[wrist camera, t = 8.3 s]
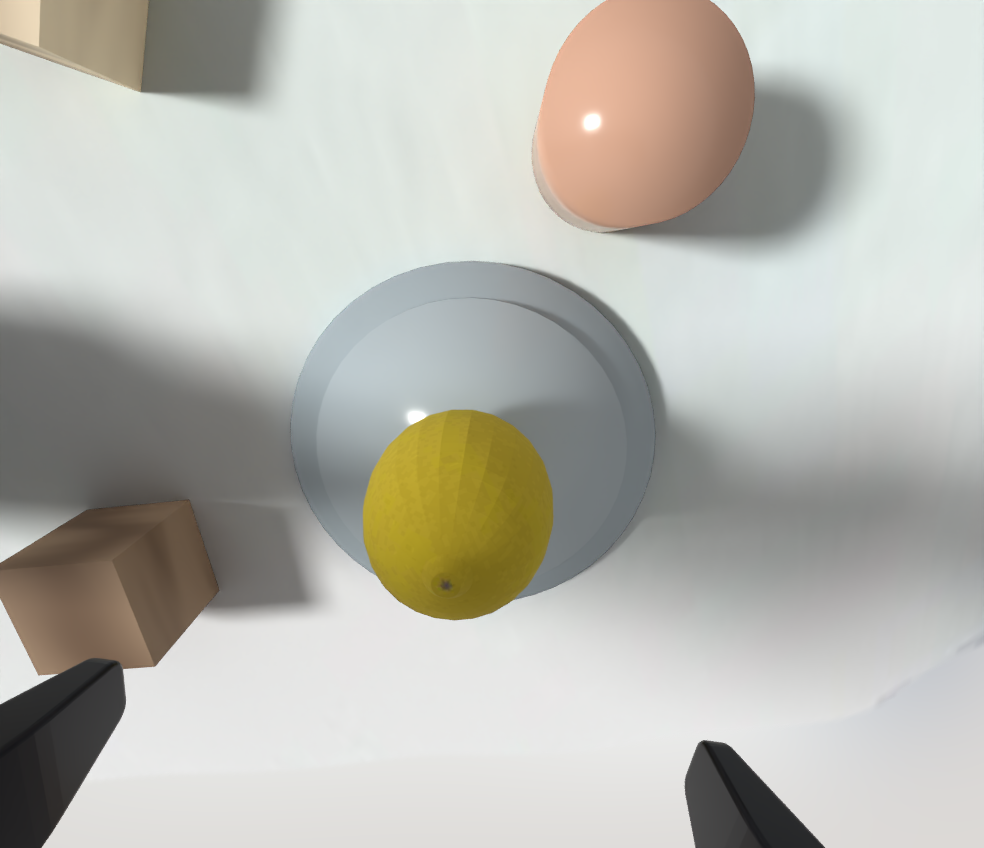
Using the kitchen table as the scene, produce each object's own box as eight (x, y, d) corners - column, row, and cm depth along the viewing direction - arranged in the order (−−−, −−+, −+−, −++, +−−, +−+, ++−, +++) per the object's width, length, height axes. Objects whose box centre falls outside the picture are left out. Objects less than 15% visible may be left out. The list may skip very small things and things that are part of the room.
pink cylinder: (520, 220, 18) (526, 208, 13) (546, 51, 16) (564, -33, 11) (662, 242, 18) (720, 238, 13) (701, 77, 16) (783, 4, 11)
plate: (292, 570, 22) (281, 587, 21) (301, 232, 18) (287, 230, 17) (607, 614, 23) (612, 633, 22) (692, 293, 18) (705, 296, 17)
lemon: (572, 470, 19) (616, 612, 12) (455, 545, 20) (425, 718, 13) (485, 352, 18) (469, 424, 10) (365, 439, 19) (271, 561, 11)
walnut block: (124, 597, 23) (38, 675, 19) (88, 508, 22) (-14, 571, 17) (220, 588, 23) (154, 666, 19) (190, 499, 21) (112, 560, 17)
